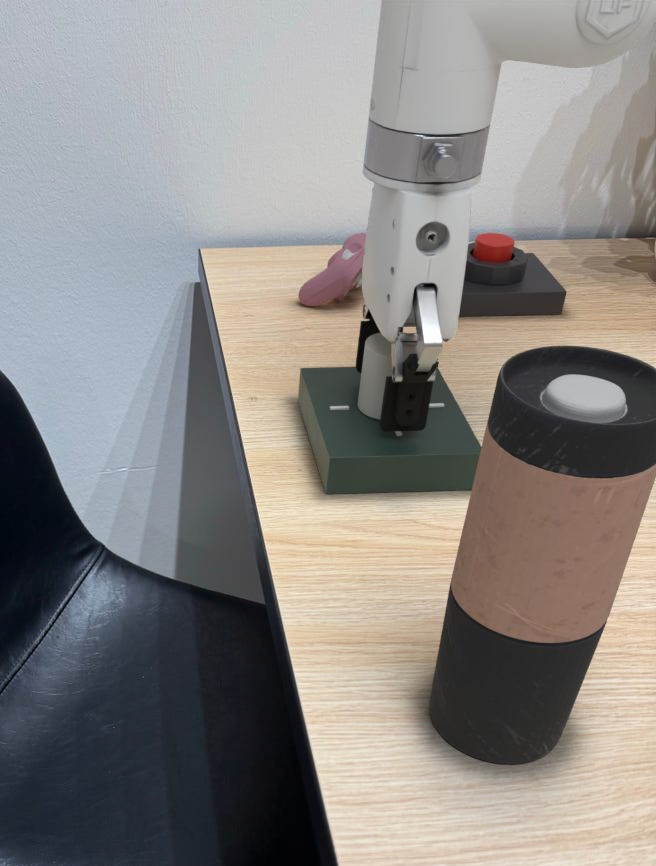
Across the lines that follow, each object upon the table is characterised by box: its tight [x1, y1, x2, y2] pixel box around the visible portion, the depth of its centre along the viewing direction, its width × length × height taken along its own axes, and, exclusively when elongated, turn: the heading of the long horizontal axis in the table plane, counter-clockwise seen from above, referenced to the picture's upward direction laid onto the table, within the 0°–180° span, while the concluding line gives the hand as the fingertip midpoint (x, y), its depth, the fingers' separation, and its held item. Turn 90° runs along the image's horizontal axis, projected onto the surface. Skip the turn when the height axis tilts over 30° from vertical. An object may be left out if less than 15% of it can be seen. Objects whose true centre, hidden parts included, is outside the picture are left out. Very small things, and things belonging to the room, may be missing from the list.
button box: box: [459, 241, 568, 317], centre depth 100 cm, size 12×10×4 cm
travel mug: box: [429, 345, 656, 765], centre depth 51 cm, size 8×8×20 cm
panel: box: [297, 366, 482, 495], centre depth 79 cm, size 14×11×3 cm
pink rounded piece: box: [298, 228, 367, 307], centre depth 100 cm, size 10×5×7 cm, turn 154°
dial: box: [358, 331, 416, 420], centre depth 76 cm, size 4×4×5 cm
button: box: [473, 232, 515, 262], centre depth 99 cm, size 4×4×2 cm
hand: (388, 398), depth 77 cm, fingers open, 8 cm apart
